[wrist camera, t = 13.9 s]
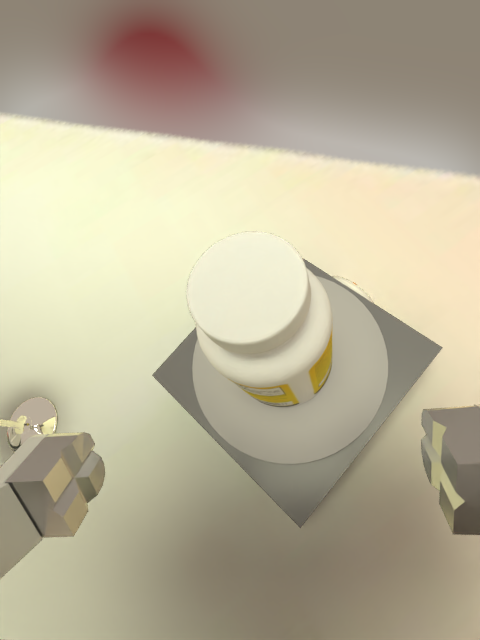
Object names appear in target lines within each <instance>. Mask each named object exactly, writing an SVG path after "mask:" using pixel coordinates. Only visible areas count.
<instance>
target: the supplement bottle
mask: <svg viewBox="0 0 480 640" xmlns="http://www.w3.org/2000/svg"><path fill="white" fill-rule="evenodd" d="M187 303H188V307H189V311H190V313H191V316H192V318H193V319H194V321H195V323H196V332H197V337H198V341H199V344H200V347H201V349H202V351H203V353H204V354H205V356H206V357H207V359H208V360H209V362H210V363H211V364H212V365H213V367H214V368H215V369H216V370H217V371H218V372H220V373H221V374H222V375H223V376H225V377H226V378H227V379H229V380H230V381H231V382H233V383H234V384H236V385H237V386H238V387H239V388H241V389H242V390H243V391H245V392H246V393H248V394H249V395H250V396H251V397H253V398H254V399H256V400H258V401H259V402H261V403H264V404H266V405H269V406H274V407H284V408H285V407H293V406H297V405H300V404H303V403H305V402H307V401H309V400H310V399H312V398H313V397H314V396H315V395H317V394H318V393H319V392H320V390H321V389H322V388H323V387H324V385H325V383H326V382H327V380H328V377H329V375H330V372H331V367H332V311H331V305H330V301H329V298H328V295H327V293H326V291H325V289H324V287H323V285H322V284H321V282H320V281H319V280H318V279H317V277H316V276H315V275H314V274H313V273H312V272H311V271H310V270H309V269H307V268H306V266H305V263H304V261H303V259H302V257H301V255H300V254H299V252H298V251H297V250H296V249H295V248H294V247H293V246H292V245H291V244H290V243H289V242H287V241H286V240H284V239H282V238H281V237H278V236H276V235H273V234H270V233H266V232H258V231H250V232H242V233H237V234H234V235H231V236H228V237H226V238H224V239H222V240H220V241H218V242H216V243H215V244H213V245H212V246H211V247H210V248H208V249H207V250H206V251H205V252H204V253H203V254H202V256H201V257H200V258H199V259H198V261H197V262H196V264H195V265H194V267H193V269H192V271H191V273H190V276H189V280H188V284H187Z"/></svg>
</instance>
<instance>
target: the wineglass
mask: <svg viewBox="0 0 480 640" xmlns="http://www.w3.org/2000/svg"><path fill="white" fill-rule="evenodd" d="M0 426H4V427H8V428H7V440H8V443H9V446H10V448H11V449H12V450H13V451H14V452H15V451H16V450H17V449H18V448H19V447H20V446H21V445H22V444H23V443H24V442H25V441H26V440H27V439H28V438H29V437H31V436H34V435H41V434H54V433H55V430H56V427H57V412H56V409H55V407H54V405H53V404H52V402H50V401H49V400H48V399H46V398H43V397H34V398H31V399H28V400H26V401H25V402H23V403H22V404H21V405H20V406H19V407H18V408H17V409H16V410H15V411H14V413H13V415H12V416H11V419H10V420H2V419H0Z"/></svg>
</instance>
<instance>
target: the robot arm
mask: <svg viewBox="0 0 480 640" xmlns="http://www.w3.org/2000/svg"><path fill="white" fill-rule="evenodd" d="M422 426H423V428H424V430H425V432H426V435H425V437H424V438H423V439H422V440H421V449H422V457H423V463H424V467H425V470H426V473H427V476H428V479H429V481H430V483H431V485H432V486H433V487H435V488H436V489H437V490H439V491H440V499H439V504H440V506H441V508H442V511H443V513H444V515H445V517H446V520H447V522H448V524H449V526H450V529H451V531H452V533H453V534H462V535H480V404H479V405H474V406H461V407H448V408H434V409H423V412H422ZM94 446H95V443H94V441H93V439H92V437H91V435H90V434H88V433H84V432H80V433H56V434H41V435H34V436H31V437H29V438H28V439H27V440H26V441H25V442H24V443H23V444H22V445H21V446H20V447H19V448H18V449H17V450H16V451H15V452H14V453H13V454H12V456H11V457H10V458H9V459H8V460H7V461H6V462H5V463H4V464H3V465H2V466H1V467H0V579H1V578H2V577H3V576H4V575H5V574H6V573H7V572H8V571H9V570H10V569H11V568H13V567H14V566H15V565H16V564H17V563H18V562H19V561H20V560H21V559H22V558H23V557H24V556H25V555H26V554H27V553H29V552H30V551H31V550H32V549H33V548H34V547H35V546H36V545H37V544H38V543H39V542H40V541H41V540H42V537H67V536H74V535H75V533H76V532H77V530H78V528H79V526H80V525H81V523H82V521H83V519H84V518H85V516H86V514H87V512H88V504H87V503H88V502H89V501H91V500H92V499H93V498H94V497H96V496H97V495H98V493H99V491H100V489H101V487H102V486H103V482H104V477H105V468H104V463H103V461H102V458H101V457H100V456H99V455H98V454H96V453H95V452H94V451H93V448H94ZM0 640H2V639H0Z"/></svg>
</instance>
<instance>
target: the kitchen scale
mask: <svg viewBox="0 0 480 640" xmlns="http://www.w3.org/2000/svg"><path fill="white" fill-rule="evenodd" d="M302 259H303V258H302ZM303 261H304V263H305V266H306V268H307V269H309V270H310V271H311V272H312V273H313V274H314V275H315V276H316V277H317V279H318V280H319V281H320V282H321V284H322V285H323V287H324V289H325V291H326V293H327V295H328V298H329V301H330V305H331V311H332V367H331V372H330V375H329V377H328V380H327V382H326V383H325V385H324V387H323V388H322V389H321V390H320V392H319V393H318V394H317V395H315V396H314V397H313V398H312V399H310V400H309V401H307V402H305V403H303V404H300V405H297V406H293V407H285V408H284V407H274V406H269V405H266V404H264V403H261V402H259V401H258V400H256V399H254V398H253V397H251V396H250V395H249V394H248V393H246V392H245V391H243V390H242V389H241V388H239V387H238V386H237V385H236V384H234V383H233V382H231V381H230V380H229V379H227V378H226V377H225V376H223V375H222V374H221V373H220V372H218V371H217V370H216V369H215V368H214V367H213V365H212V364H211V363H210V362H209V360H208V359H207V357H206V356H205V354H204V353H203V351H202V349H201V347H200V344H199V341H198V337H197V332H196V328H195V329H194V330H193V331H192V332H191V333H190V334H189V335H188V336H187V338H186V339H185V340H184V341H183V342H182V343H181V344H180V345H179V346H178V347H177V349H176V350H175V351H174V352H173V353H172V354H171V355H170V356H169V357H168V358H167V360H166V361H165V362H164V363H163V364H162V365H161V366H160V367H159V368H158V369H157V371H156V372H155V373H154V374H153V375H152V376H153V377H154V378H155V379H156V380H157V381H158V382H159V383H160V384H161V385H162V386H163V387H164V388H165V389H166V390H167V391H168V392H169V393H170V394H171V395H172V396H173V397H174V398H175V399H176V400H177V401H178V402H179V403H180V404H181V405H182V406H183V408H184V409H185V410H186V411H187V412H188V413H189V414H190V415H191V416H192V417H193V418H194V419H195V420H196V421H197V422H198V423H199V424H200V425H201V426H202V427H203V428H204V429H205V430H206V431H207V432H208V433H209V434H210V435H211V436H212V437H213V438H214V439H215V441H216V442H217V443H218V444H219V445H220V446H221V447H222V448H223V449H224V450H225V451H226V452H227V453H228V454H229V455H230V456H231V457H232V458H233V459H234V460H235V461H236V462H237V463H238V464H239V465H240V466H241V467H242V468H243V469H244V470H245V471H246V473H247V474H248V475H249V476H250V477H251V478H252V479H253V480H254V481H255V482H256V483H257V484H258V485H259V486H260V487H261V488H262V489H263V490H264V491H265V492H266V493H267V494H268V495H269V496H270V497H271V498H272V499H273V500H274V501H275V502H276V503H277V504H278V506H279V507H280V508H281V509H282V510H283V511H284V512H285V513H286V514H287V515H288V516H289V517H290V518H291V519H292V520H293V521H294V522H295V523H296V524H297V525H298V526H299V527H300V528H301V527H302V525H303V524H304V523H305V521H306V520H307V519H308V518H309V516H310V515H311V514H312V513H313V511H314V510H315V509H316V508H317V506H318V505H319V504H320V502H321V501H322V500H323V499H324V497H325V496H326V495H327V494H328V492H329V491H330V490H331V489H332V487H333V486H334V485H335V483H336V482H337V481H338V480H339V478H340V477H341V476H342V475H343V473H344V472H345V471H346V470H347V468H348V467H349V466H350V464H351V463H352V462H353V461H354V459H355V458H356V457H357V456H358V454H359V453H360V452H361V451H362V449H363V448H364V447H365V445H366V444H367V443H368V442H369V440H370V439H371V438H372V437H373V435H374V434H375V433H376V431H377V430H378V429H379V428H380V426H381V425H382V424H383V423H384V421H385V420H386V419H387V418H388V416H389V415H390V414H391V412H392V411H393V410H394V409H395V407H396V406H397V405H398V404H399V402H400V401H401V400H402V399H403V397H404V396H405V395H406V393H407V392H408V391H409V390H410V388H411V387H412V386H413V385H414V383H415V382H416V381H417V380H418V378H419V377H420V376H421V374H422V373H423V372H424V371H425V369H426V368H427V367H428V366H429V364H430V363H431V362H432V361H433V359H434V358H435V357H436V355H437V354H438V353H439V352H440V350H441V349H442V347H441V346H439V345H438V344H436V343H434V342H433V341H431V340H430V339H428V338H427V337H425V336H424V335H422V334H420V333H419V332H417V331H416V330H414V329H413V328H411V327H410V326H408V325H406V324H405V323H403V322H402V321H400V320H399V319H397V318H395V317H394V316H392V315H391V314H389V313H388V312H386V311H385V310H383V309H381V308H380V307H378V306H377V305H375V304H374V302H373V301H372V299H371V298H370V297H369V296H368V295H367V294H366V293H365V292H364V291H363V290H362V289H361V288H360V287H358V286H357V284H355V283H354V282H353V283H352V282H351V281H349V280H347V279H345V278H342V277H338V276H332V277H331V276H330V275H328V274H327V273H325V272H324V271H322V270H321V269H319V268H317V267H316V266H314V265H313V264H311V263H310V262H308V261H307V260H305V259H303Z"/></svg>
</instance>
